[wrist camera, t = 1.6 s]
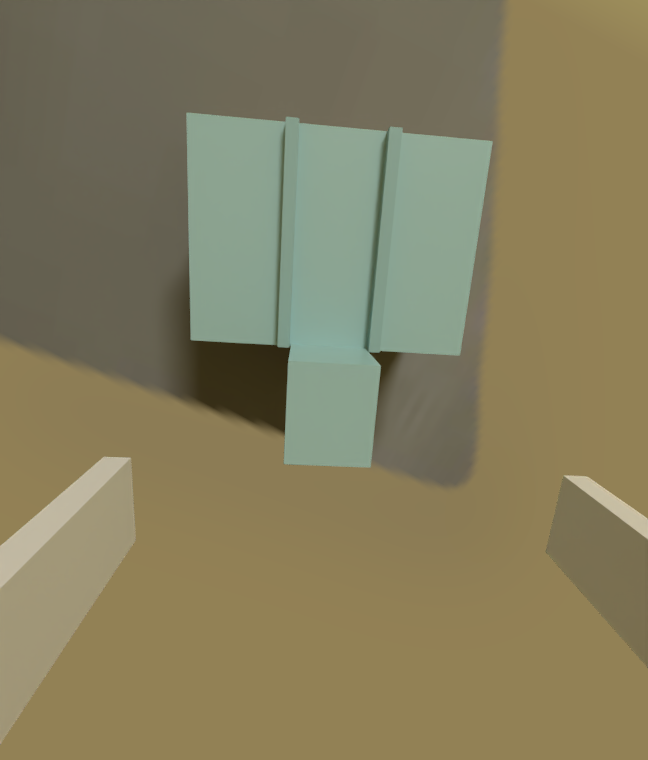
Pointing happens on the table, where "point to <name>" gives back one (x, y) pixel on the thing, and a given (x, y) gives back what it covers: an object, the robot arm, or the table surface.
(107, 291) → the table surface
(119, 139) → the table surface
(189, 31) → the table surface
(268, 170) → the lid
